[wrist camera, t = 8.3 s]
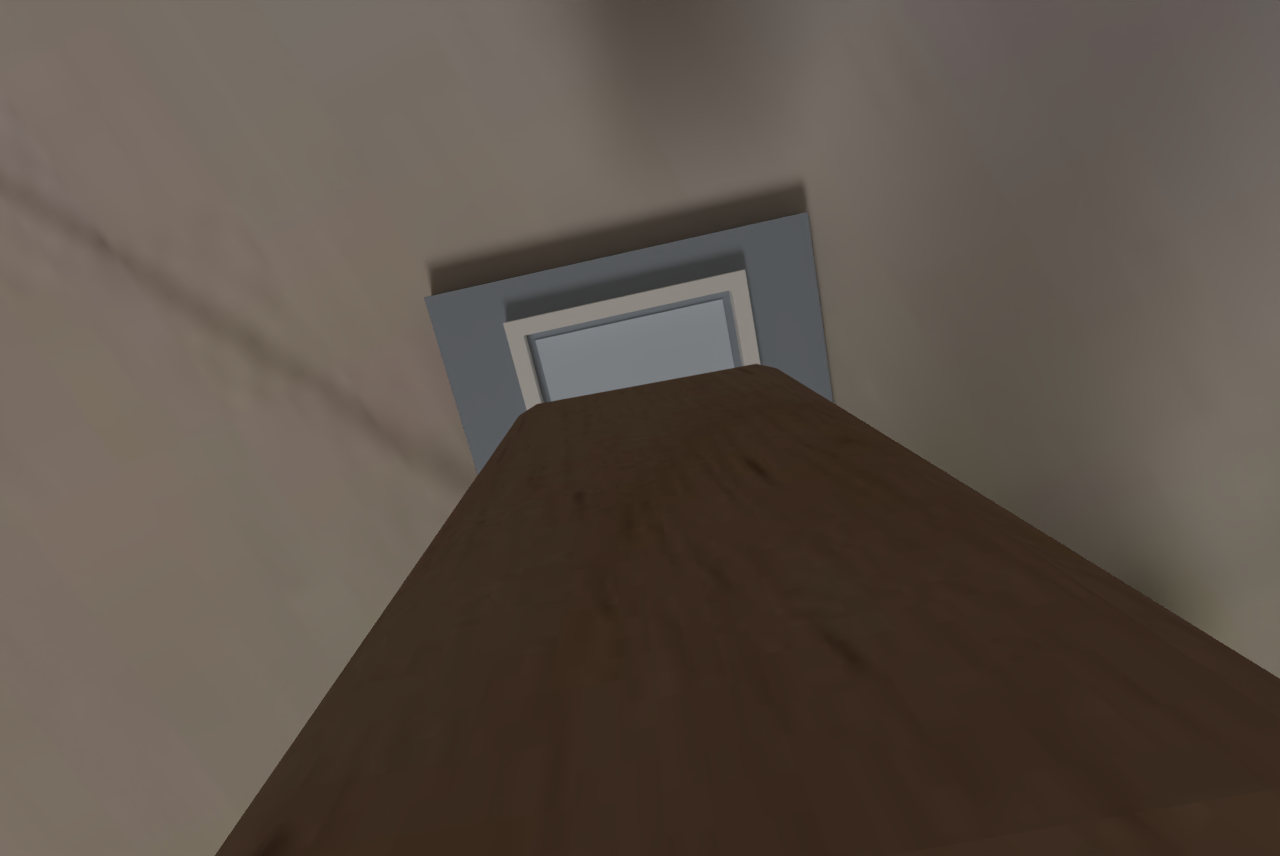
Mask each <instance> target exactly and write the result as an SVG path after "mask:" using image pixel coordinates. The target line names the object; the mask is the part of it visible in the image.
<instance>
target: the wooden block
mask: <svg viewBox="0 0 1280 856" xmlns="http://www.w3.org/2000/svg"><path fill="white" fill-rule="evenodd" d="M215 856H1280V679H1279V678H1278V677H1276V676H1274V675H1273V674H1271V673H1270V672H1268V671H1266V670H1265V669H1263V668H1261V667H1260V666H1258V665H1257V664H1255V663H1253V662H1252V661H1250V660H1249V659H1247V658H1245V657H1244V656H1242V655H1240V654H1239V653H1237V652H1236V651H1234V650H1232V649H1231V648H1229V647H1227V646H1226V645H1224V644H1223V643H1221V642H1219V641H1218V640H1216V639H1214V638H1213V637H1211V636H1210V635H1208V634H1206V633H1205V632H1203V631H1202V630H1200V629H1198V628H1197V627H1195V626H1193V625H1192V624H1190V623H1189V622H1187V621H1185V620H1184V619H1182V618H1180V617H1179V616H1177V615H1176V614H1174V613H1172V612H1171V611H1169V610H1168V609H1166V608H1164V607H1163V606H1161V605H1159V604H1158V603H1156V602H1155V601H1153V600H1151V599H1150V598H1148V597H1146V596H1145V595H1143V594H1142V593H1140V592H1138V591H1137V590H1135V589H1134V588H1132V587H1130V586H1129V585H1127V584H1125V583H1124V582H1122V581H1121V580H1119V579H1117V578H1116V577H1114V576H1112V575H1111V574H1109V573H1108V572H1106V571H1104V570H1103V569H1101V568H1100V567H1098V566H1096V565H1095V564H1093V563H1091V562H1090V561H1088V560H1087V559H1085V558H1083V557H1082V556H1080V555H1078V554H1077V553H1075V552H1074V551H1072V550H1070V549H1069V548H1067V547H1066V546H1064V545H1062V544H1061V543H1059V542H1057V541H1056V540H1054V539H1053V538H1051V537H1049V536H1048V535H1046V534H1044V533H1043V532H1041V531H1040V530H1038V529H1036V528H1035V527H1033V526H1032V525H1030V524H1028V523H1027V522H1025V521H1023V520H1022V519H1020V518H1019V517H1017V516H1015V515H1014V514H1012V513H1010V512H1009V511H1007V510H1006V509H1004V508H1002V507H1001V506H999V505H998V504H996V503H994V502H993V501H991V500H989V499H988V498H986V497H985V496H983V495H981V494H980V493H978V492H976V491H975V490H973V489H972V488H970V487H968V486H967V485H965V484H964V483H962V482H960V481H959V480H957V479H955V478H954V477H952V476H951V475H949V474H947V473H946V472H944V471H942V470H941V469H939V468H938V467H936V466H934V465H933V464H931V463H930V462H928V461H926V460H925V459H923V458H921V457H920V456H918V455H917V454H915V453H913V452H912V451H910V450H908V449H907V448H905V447H904V446H902V445H900V444H899V443H897V442H895V441H894V440H892V439H891V438H889V437H887V436H886V435H884V434H883V433H881V432H879V431H878V430H876V429H874V428H873V427H871V426H870V425H868V424H866V423H865V422H863V421H861V420H860V419H858V418H857V417H855V416H853V415H852V414H850V413H849V412H847V411H845V410H844V409H842V408H840V407H839V406H837V405H836V404H834V403H832V402H831V401H829V400H827V399H826V398H824V397H823V396H821V395H819V394H818V393H816V392H815V391H813V390H811V389H810V388H808V387H806V386H805V385H803V384H802V383H800V382H798V381H797V380H795V379H793V378H792V377H790V376H789V375H787V374H785V373H784V372H782V371H781V370H779V369H777V368H774V367H769V366H764V365H760V364H752V365H747V366H741V367H736V368H731V369H725V370H720V371H714V372H709V373H703V374H698V375H692V376H687V377H682V378H676V379H671V380H665V381H660V382H654V383H649V384H644V385H638V386H633V387H627V388H622V389H616V390H611V391H605V392H600V393H595V394H589V395H584V396H578V397H573V398H567V399H562V400H556V401H551V402H546V403H540V404H536V405H535V406H533V407H531V408H530V409H528V410H527V411H525V412H524V413H522V414H521V415H519V416H518V418H517V419H516V421H515V422H514V424H513V425H512V427H511V428H510V429H509V431H508V432H507V434H506V435H505V437H504V438H503V440H502V441H501V443H500V444H499V445H498V447H497V448H496V450H495V451H494V453H493V454H492V456H491V457H490V458H489V460H488V461H487V463H486V464H485V466H484V467H483V469H482V470H481V471H480V473H479V474H478V476H477V477H476V479H475V480H474V482H473V483H472V484H471V486H470V487H469V489H468V490H467V492H466V493H465V495H464V496H463V497H462V499H461V500H460V502H459V503H458V505H457V506H456V508H455V509H454V511H453V512H452V513H451V515H450V516H449V518H448V519H447V521H446V522H445V524H444V525H443V526H442V528H441V529H440V531H439V532H438V534H437V535H436V537H435V538H434V539H433V541H432V542H431V544H430V545H429V547H428V548H427V550H426V551H425V552H424V554H423V555H422V557H421V558H420V560H419V561H418V563H417V564H416V565H415V567H414V568H413V570H412V571H411V573H410V574H409V576H408V577H407V578H406V580H405V581H404V583H403V584H402V586H401V587H400V589H399V590H398V592H397V593H396V594H395V596H394V597H393V599H392V600H391V602H390V603H389V605H388V606H387V607H386V609H385V610H384V612H383V613H382V615H381V616H380V618H379V619H378V620H377V622H376V623H375V625H374V626H373V628H372V629H371V631H370V632H369V633H368V635H367V636H366V638H365V639H364V641H363V642H362V644H361V645H360V646H359V648H358V649H357V651H356V652H355V654H354V655H353V657H352V658H351V660H350V661H349V662H348V664H347V665H346V667H345V668H344V670H343V671H342V673H341V674H340V675H339V677H338V678H337V680H336V681H335V683H334V684H333V686H332V687H331V688H330V690H329V691H328V693H327V694H326V696H325V697H324V699H323V700H322V701H321V703H320V704H319V706H318V707H317V709H316V710H315V712H314V713H313V714H312V716H311V717H310V719H309V720H308V722H307V723H306V725H305V726H304V727H303V729H302V730H301V732H300V733H299V735H298V736H297V738H296V739H295V741H294V742H293V743H292V745H291V746H290V748H289V749H288V751H287V752H286V754H285V755H284V756H283V758H282V759H281V761H280V762H279V764H278V765H277V767H276V768H275V769H274V771H273V772H272V774H271V775H270V777H269V778H268V780H267V781H266V782H265V784H264V785H263V787H262V788H261V790H260V791H259V793H258V794H257V795H256V797H255V798H254V800H253V801H252V803H251V804H250V806H249V807H248V809H247V810H246V811H245V813H244V814H243V816H242V817H241V819H240V820H239V822H238V823H237V824H236V826H235V827H234V829H233V830H232V832H231V833H230V835H229V836H228V837H227V839H226V840H225V842H224V843H223V845H222V846H221V848H220V849H219V850H218V852H217V853H216V855H215Z"/></svg>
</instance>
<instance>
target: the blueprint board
mask: <svg viewBox="0 0 1280 856" xmlns="http://www.w3.org/2000/svg"><path fill="white" fill-rule="evenodd" d="M424 299H425V302H426V306H427V309H428V312H429V316H430V319H431V322H432V325H433V329H434V332H435V335H436V339H437V342H438V345H439V349H440V352H441V355H442V358H443V362H444V365H445V368H446V372H447V375H448V378H449V382H450V385H451V388H452V391H453V395H454V398H455V401H456V405H457V408H458V411H459V415H460V418H461V421H462V424H463V428H464V431H465V434H466V438H467V441H468V444H469V448H470V451H471V454H472V457H473V461H474V464H475V467H476V471H477V474H479V473H480V471H481V470H482V469H483V467H484V466H485V464H486V463H487V461H488V460H489V458H490V457H491V456H492V454H493V453H494V451H495V450H496V448H497V447H498V445H499V444H500V443H501V441H502V440H503V438H504V437H505V435H506V434H507V432H508V431H509V429H510V428H511V427H512V425H513V424H514V422H515V421H516V419H517V418H518V416H519V415H521V414H522V413H524V412H525V411H527V410H528V409H530V408H531V407H533V406H535V405H536V404H540V403H546V402H551V401H556V400H562V399H567V398H573V397H578V396H584V395H589V394H595V393H600V392H605V391H611V390H616V389H622V388H627V387H633V386H638V385H644V384H649V383H654V382H660V381H665V380H671V379H676V378H682V377H687V376H692V375H698V374H703V373H709V372H714V371H720V370H725V369H731V368H736V367H741V366H747V365H752V364H760V365H764V366H769V367H774V368H777V369H779V370H781V371H782V372H784V373H785V374H787V375H789V376H790V377H792V378H793V379H795V380H797V381H798V382H800V383H802V384H803V385H805V386H806V387H808V388H810V389H811V390H813V391H815V392H816V393H818V394H819V395H821V396H823V397H824V398H826V399H827V400H829V401H831V402H832V403H833V398H832V391H831V383H830V376H829V368H828V361H827V353H826V346H825V338H824V330H823V323H822V315H821V308H820V300H819V293H818V285H817V278H816V270H815V263H814V255H813V248H812V240H811V233H810V225H809V218H808V212H805V213H800V214H796V215H791V216H787V217H782V218H778V219H773V220H769V221H764V222H760V223H755V224H751V225H746V226H742V227H738V228H733V229H729V230H724V231H720V232H715V233H711V234H706V235H702V236H697V237H693V238H688V239H684V240H679V241H675V242H670V243H666V244H661V245H657V246H652V247H648V248H643V249H639V250H634V251H630V252H626V253H621V254H617V255H612V256H608V257H603V258H599V259H594V260H590V261H585V262H581V263H576V264H572V265H567V266H563V267H558V268H554V269H549V270H545V271H540V272H536V273H531V274H527V275H522V276H518V277H514V278H509V279H505V280H500V281H496V282H491V283H487V284H482V285H478V286H473V287H469V288H464V289H460V290H455V291H451V292H446V293H442V294H437V295H433V296H428V297H424Z"/></svg>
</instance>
